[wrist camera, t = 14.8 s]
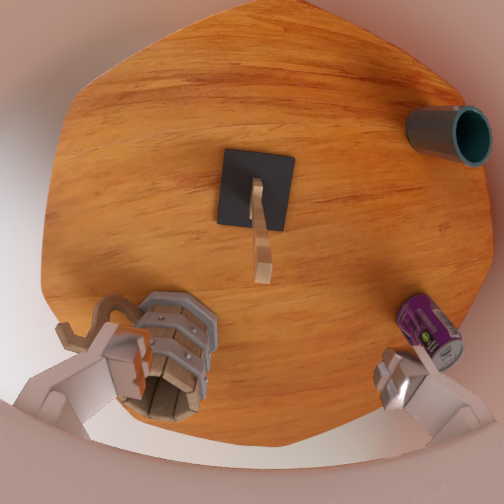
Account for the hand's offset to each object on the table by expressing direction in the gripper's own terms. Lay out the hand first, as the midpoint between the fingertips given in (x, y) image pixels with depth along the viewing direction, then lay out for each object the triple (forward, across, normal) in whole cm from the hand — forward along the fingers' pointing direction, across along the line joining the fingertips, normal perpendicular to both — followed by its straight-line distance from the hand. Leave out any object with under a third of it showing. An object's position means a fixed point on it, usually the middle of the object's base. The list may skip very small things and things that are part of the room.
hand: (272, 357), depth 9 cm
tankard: (+27, +12, +19) cm, 35 cm away
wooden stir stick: (+26, 0, 0) cm, 26 cm away
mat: (+27, 0, 0) cm, 27 cm away
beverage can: (+27, -28, +15) cm, 42 cm away
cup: (+27, -21, -12) cm, 36 cm away
